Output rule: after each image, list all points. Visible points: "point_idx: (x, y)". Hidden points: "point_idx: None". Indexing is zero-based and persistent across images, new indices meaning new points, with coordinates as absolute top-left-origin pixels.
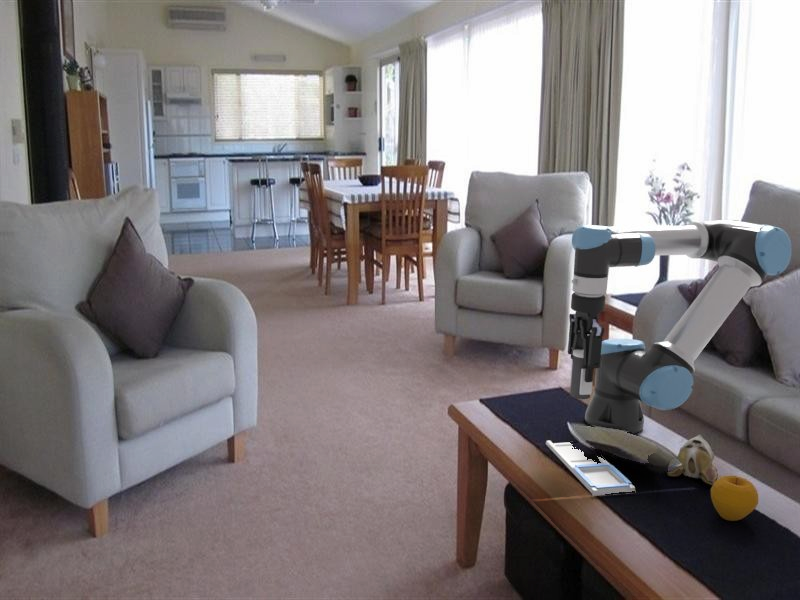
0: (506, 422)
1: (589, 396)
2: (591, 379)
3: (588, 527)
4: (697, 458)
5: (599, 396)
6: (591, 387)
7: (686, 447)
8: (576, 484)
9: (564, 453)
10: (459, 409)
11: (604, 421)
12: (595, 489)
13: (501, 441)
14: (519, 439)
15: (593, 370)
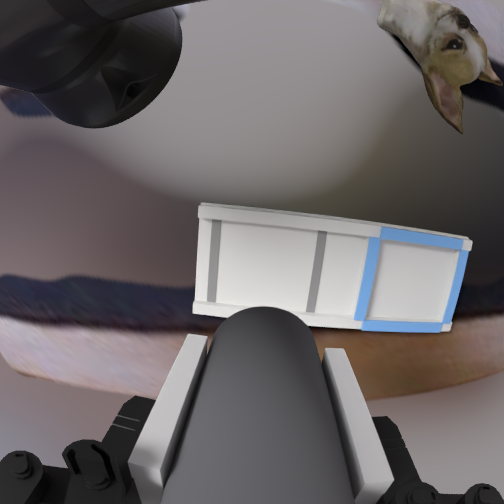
0: (65, 323)
1: (307, 329)
2: (395, 436)
3: (492, 371)
4: (485, 64)
5: (62, 89)
6: (352, 376)
7: (459, 50)
8: (398, 336)
9: (262, 295)
10: (20, 369)
11: (127, 94)
12: (449, 326)
13: (159, 385)
14: (152, 347)
15: (419, 479)
